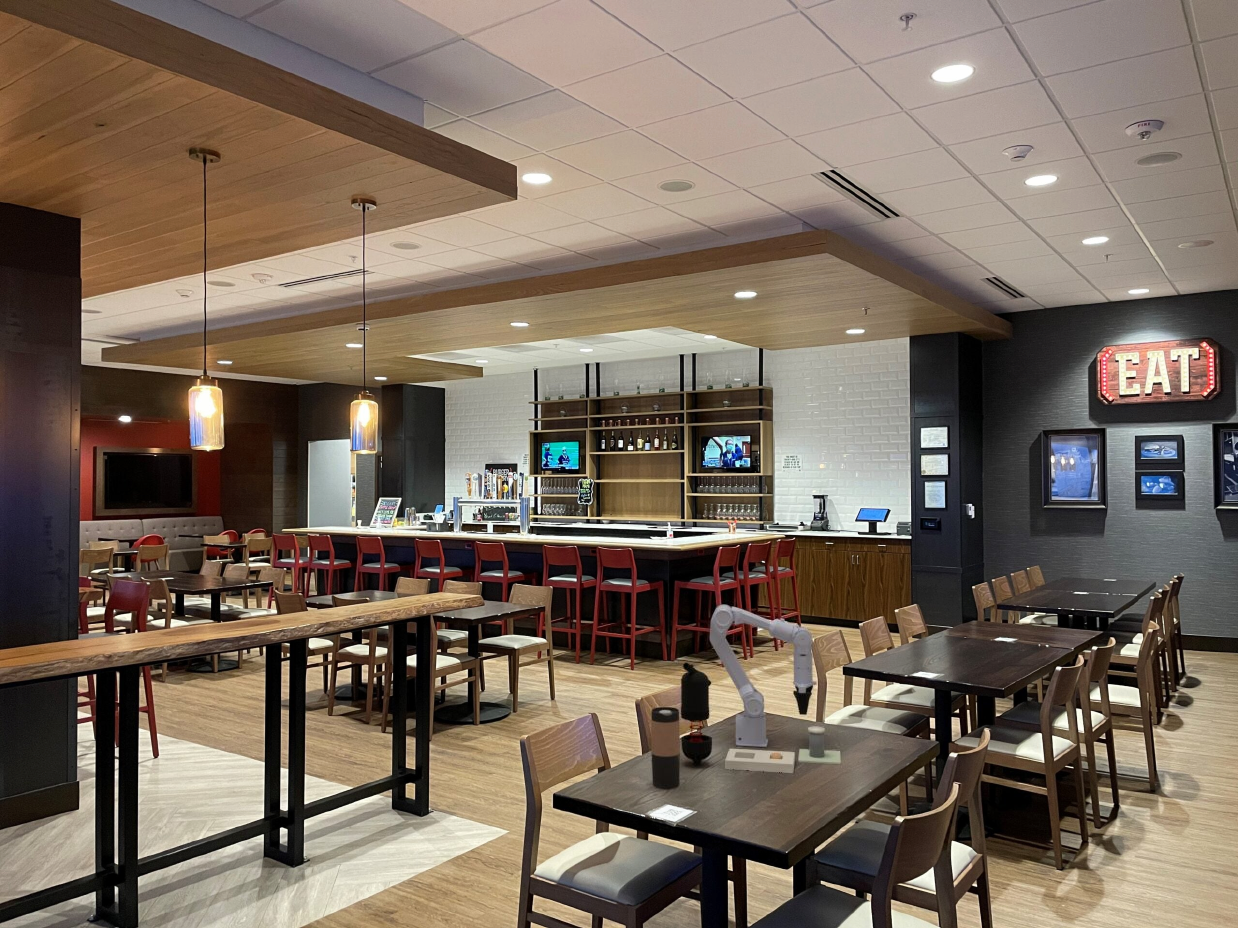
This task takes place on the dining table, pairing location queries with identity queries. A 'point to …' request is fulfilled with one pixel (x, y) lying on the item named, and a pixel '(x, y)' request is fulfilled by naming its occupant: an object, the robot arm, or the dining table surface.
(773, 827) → the dining table surface
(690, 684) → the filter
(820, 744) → the cylinder
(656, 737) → the travel mug
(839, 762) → the mat
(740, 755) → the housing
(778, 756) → the plunger
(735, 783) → the dining table surface
